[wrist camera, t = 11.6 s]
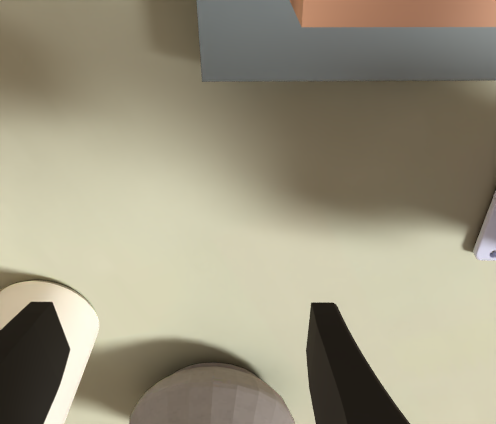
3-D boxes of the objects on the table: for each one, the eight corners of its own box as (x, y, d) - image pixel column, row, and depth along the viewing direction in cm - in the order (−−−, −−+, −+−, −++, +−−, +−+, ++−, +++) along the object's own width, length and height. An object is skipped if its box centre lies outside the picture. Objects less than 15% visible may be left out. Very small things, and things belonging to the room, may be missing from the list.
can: (-25, 284, 26) (-200, 513, 16) (74, 268, 25) (-45, 498, 15) (29, 351, 29) (-87, 572, 19) (117, 339, 28) (43, 563, 18)
